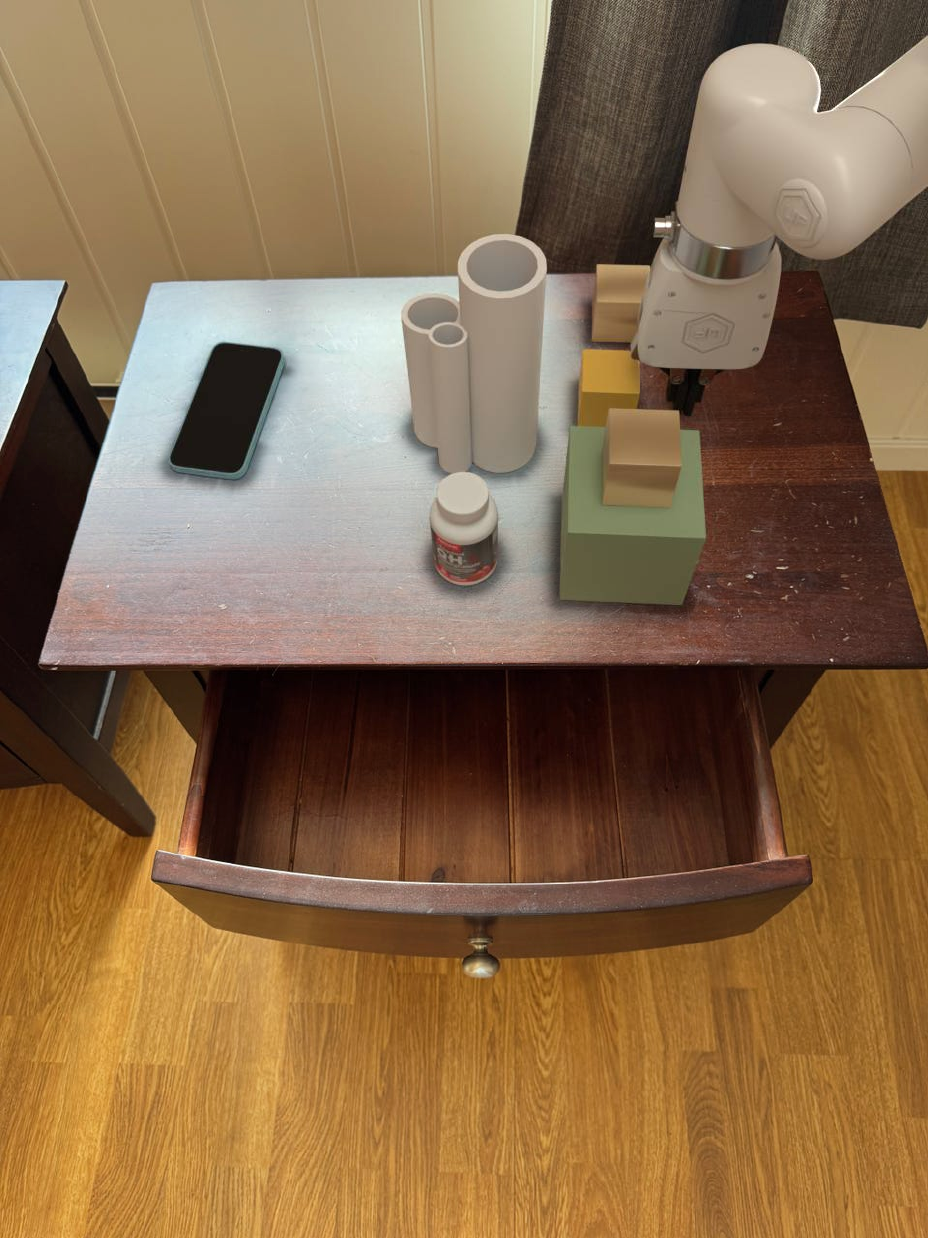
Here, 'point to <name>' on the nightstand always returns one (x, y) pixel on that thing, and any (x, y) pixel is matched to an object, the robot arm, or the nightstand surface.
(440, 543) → the pill bottle
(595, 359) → the mustard block
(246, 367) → the smartphone
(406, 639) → the nightstand surface
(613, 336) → the far maple block
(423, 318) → the vase
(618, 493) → the near maple block
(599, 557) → the stand
